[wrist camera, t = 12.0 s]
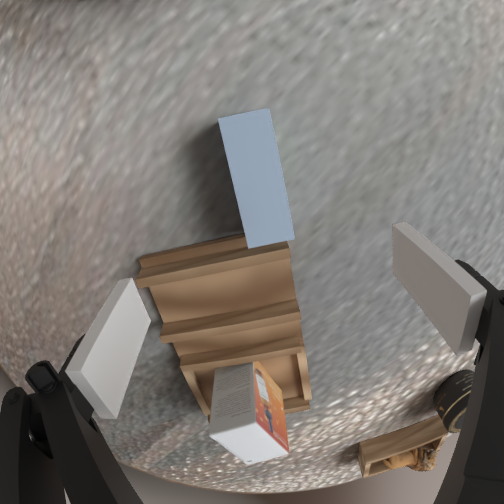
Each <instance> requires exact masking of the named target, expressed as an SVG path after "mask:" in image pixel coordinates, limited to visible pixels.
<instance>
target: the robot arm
mask: <svg viewBox="0 0 504 504" xmlns="http://www.w3.org/2000/svg"><path fill="white" fill-rule="evenodd" d="M392 232H393V274H394V275H395V277H396V278H397V279H398V280H399V281H400V283H401V284H402V285H403V286H404V287H405V289H406V290H407V291H408V292H409V294H410V295H411V296H412V297H413V299H414V300H415V301H416V302H417V304H418V305H419V306H420V308H421V309H422V310H423V311H424V313H425V314H426V315H427V317H428V318H429V319H430V321H431V322H432V323H433V325H434V326H435V327H436V329H437V330H438V331H439V333H440V334H441V335H442V337H443V338H444V339H445V341H446V342H447V343H448V345H449V346H450V348H451V349H452V350H453V352H454V353H455V355H456V356H459V355H461V354H463V353H466V352H468V351H470V350H472V347H473V344H474V341H475V338H476V339H477V340H478V342H479V343H480V347H479V350H478V353H477V356H476V359H475V361H474V364H473V365H476V367H475V373H474V378H473V383H472V388H471V392H470V397H469V401H468V405H467V409H466V413H465V417H464V421H463V424H462V428H461V431H460V435H459V438H458V441H457V444H456V448H455V450H454V453H453V456H452V459H451V462H450V465H449V467H448V470H447V473H446V475H445V478H444V480H443V483H442V485H441V488H440V490H439V492H438V495H437V497H436V499H435V501H434V504H504V290H500V291H499V290H497V289H496V288H495V287H494V286H493V285H492V284H491V283H490V282H488V281H487V280H486V279H485V278H484V277H483V276H481V275H480V274H479V273H478V272H477V271H475V269H473V268H472V267H471V266H470V265H469V264H467V263H465V262H463V261H460V260H455V261H454V260H453V259H451V258H450V257H449V256H448V255H447V254H445V253H444V252H443V251H442V250H441V249H439V248H438V247H437V246H436V245H434V244H433V243H432V242H431V241H429V240H428V239H427V238H426V237H424V236H423V235H422V234H421V233H419V232H418V231H417V230H415V229H414V228H413V227H412V226H410V225H409V224H408V223H406V222H402V223H397V224H392ZM150 322H151V320H150V318H149V316H148V314H147V311H146V309H145V307H144V305H143V302H142V300H141V298H140V295H139V293H138V291H137V288H136V286H135V284H134V281H133V279H132V278H127V279H122V280H119V281H118V283H117V284H116V286H115V287H114V289H113V291H112V292H111V294H110V295H109V297H108V298H107V300H106V302H105V303H104V305H103V306H102V308H101V310H100V311H99V313H98V314H97V316H96V318H95V319H94V321H93V323H92V324H91V326H90V328H89V329H88V331H87V333H86V334H84V335H83V336H82V337H81V338H80V339H79V340H78V341H77V342H76V344H75V345H74V347H73V349H72V351H71V352H70V354H69V357H67V359H66V361H65V363H64V365H63V366H62V368H61V370H60V372H59V374H58V373H57V372H56V370H55V369H54V368H53V366H52V365H51V363H50V362H49V361H46V360H44V361H40V362H38V363H36V364H34V365H33V366H32V367H31V368H30V369H29V370H28V371H27V373H26V376H25V380H26V381H27V382H28V384H29V385H30V386H31V388H32V389H33V390H34V391H35V393H33V394H29V395H27V393H26V392H25V391H24V390H23V388H22V387H15V388H13V389H10V390H9V391H8V392H7V393H6V395H5V396H4V398H3V401H2V406H1V412H0V504H66V499H65V492H64V488H65V491H66V493H67V495H68V498H69V500H70V503H71V504H143V502H142V501H141V499H140V498H139V496H138V495H137V493H136V492H135V490H134V489H133V487H132V486H131V484H130V482H129V481H128V479H127V478H126V476H125V474H124V473H123V471H122V469H121V468H120V466H119V464H118V463H117V461H116V459H115V457H114V456H113V454H112V452H111V450H110V448H109V447H108V445H107V443H106V441H105V439H104V437H103V435H102V433H101V431H100V429H99V427H98V425H97V423H96V421H95V420H94V419H93V418H92V417H91V416H92V413H93V411H94V410H95V411H96V413H97V414H98V415H99V416H100V417H101V418H103V419H117V416H118V413H119V410H120V407H121V404H122V401H123V398H124V395H125V392H126V389H127V386H128V383H129V380H130V377H131V374H132V371H133V368H134V366H135V363H136V360H137V357H138V354H139V352H140V349H141V346H142V343H143V341H144V338H145V335H146V333H147V330H148V327H149V325H150ZM29 435H30V436H31V437H32V438H31V439H32V440H31V439H30V437H29Z"/></svg>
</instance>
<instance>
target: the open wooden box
mask: <svg viewBox="0 0 504 504" xmlns="http://www.w3.org/2000/svg"><path fill="white" fill-rule="evenodd" d="M447 434H448V431H447V430H446V428H445V426H444V425H443V423H442V420H441V418H440V416H439V415H436V416H434V417H432V418H429V419H427V420H424V421H422V422H419V423H416V424H414V425H411V426H408V427H406V428H403V429H400V430H397V431H394V432H391V433H388V434H385V435H382V436H379V437H376V438H372V439H369V440H366V441H362V442H360V444H359V453H358V462H359V466H360V469H361V473H362V476H363V478H367V477H370V476H373V475H376V474H380V473H383V472H385V471H389V470H392V469H388V468H386V467H385V465H384V463H383V461H382V460H384V459H387V458H390V457H392V456H396V455H399V454H401V453H404V452H407V451H410V450H412V449H415V448H422V449H423V450H428V451H430V450H431V449H433V450H434V451H435V452H438V451H439V450H440V448H441V446H442V444H443V442H444V440H445V438H446V436H447Z"/></svg>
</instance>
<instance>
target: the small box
mask: <svg viewBox="0 0 504 504" xmlns="http://www.w3.org/2000/svg"><path fill="white" fill-rule="evenodd" d="M209 436H210V437H211V438H212V439H214V440H216V441H217V442H218V443H219V444H221V445H222V446H223V447H225V448H226V449H227V450H228V451H230V452H231V453H232V454H234V455H235V456H236V457H238V458H239V459H240V460H241V461H242V462H244V463H245V464H246V465H248V464H253V463H257V462H261V461H264V460H268V459H272V458H276V457H279V456H283V455H286V454H289V447H288V438H287V430H286V421H285V413H284V405H283V397H282V390H281V389H280V388H279V387H278V385H277V384H276V383H275V382H274V381H273V379H272V378H271V377H270V375H269V374H268V373H267V371H266V370H265V369H264V367H263V366H262V365H261V363H260V362H259V361H256V362H250V363H244V364H238V365H231V366H225V367H220V368H217V369H215V375H214V385H213V394H212V404H211V415H210V425H209Z"/></svg>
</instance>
